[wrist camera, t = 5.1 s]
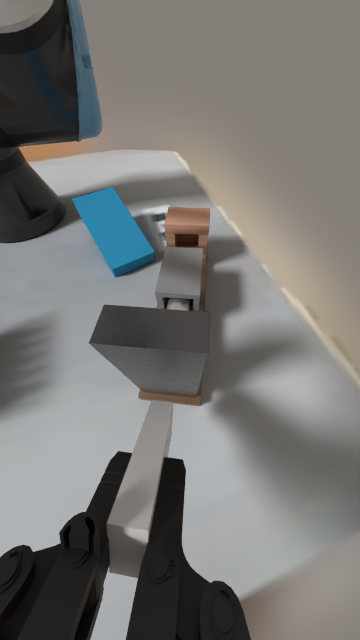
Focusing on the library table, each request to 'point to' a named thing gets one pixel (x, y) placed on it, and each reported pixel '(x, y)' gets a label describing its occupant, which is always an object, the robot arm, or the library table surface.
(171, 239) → the wooden bar with block
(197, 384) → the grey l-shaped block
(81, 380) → the library table surface
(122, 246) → the blue block
